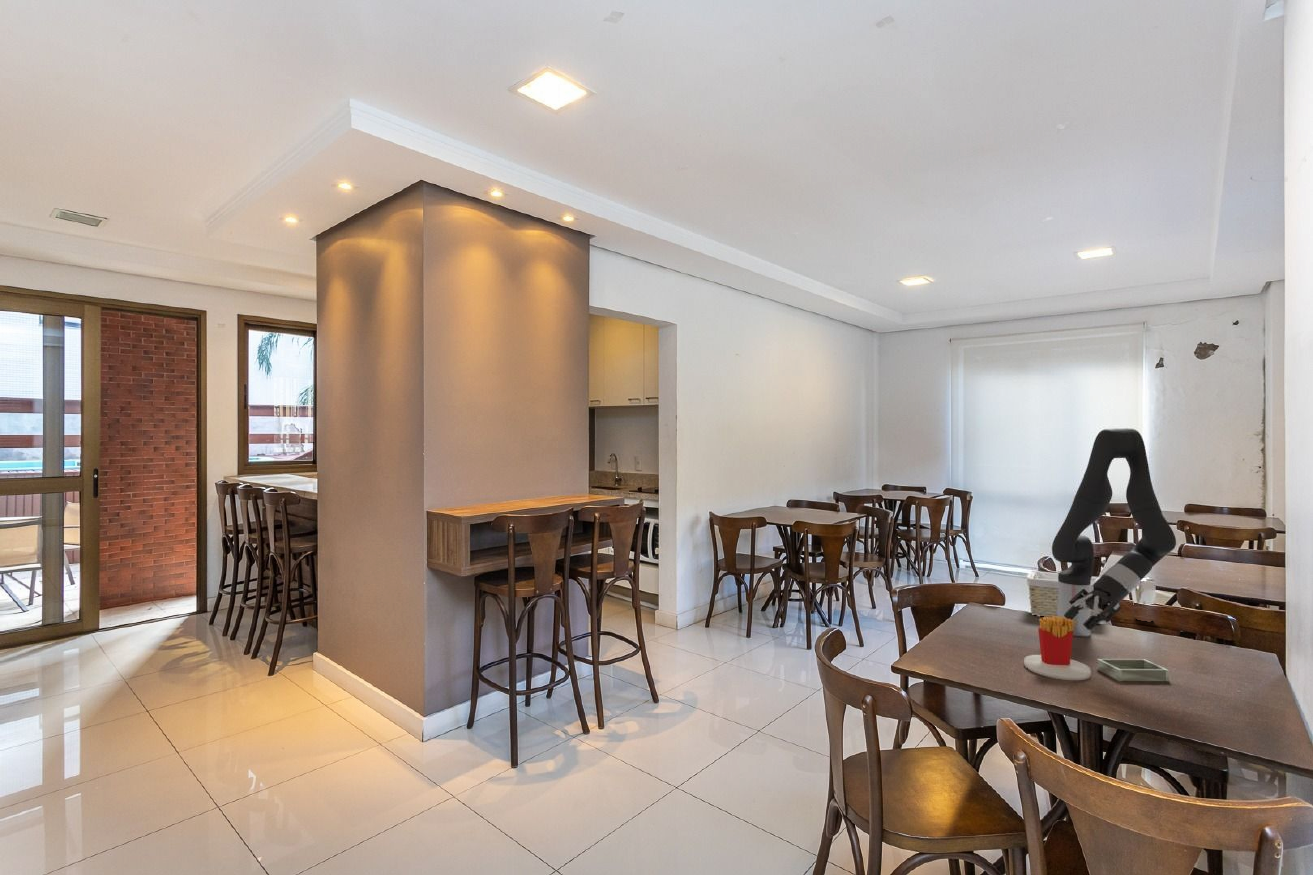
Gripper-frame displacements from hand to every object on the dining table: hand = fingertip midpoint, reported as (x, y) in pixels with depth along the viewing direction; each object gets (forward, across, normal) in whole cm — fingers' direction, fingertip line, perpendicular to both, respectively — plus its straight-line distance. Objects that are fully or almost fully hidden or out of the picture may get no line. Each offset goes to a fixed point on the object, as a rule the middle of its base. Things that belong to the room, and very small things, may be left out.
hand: (1076, 622), depth 178 cm
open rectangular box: (0, +4, +18) cm, 19 cm away
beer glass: (-30, -49, +50) cm, 76 cm away
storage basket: (-12, -54, +32) cm, 64 cm away
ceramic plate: (+14, 0, +5) cm, 15 cm away
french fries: (+12, -1, +5) cm, 13 cm away
